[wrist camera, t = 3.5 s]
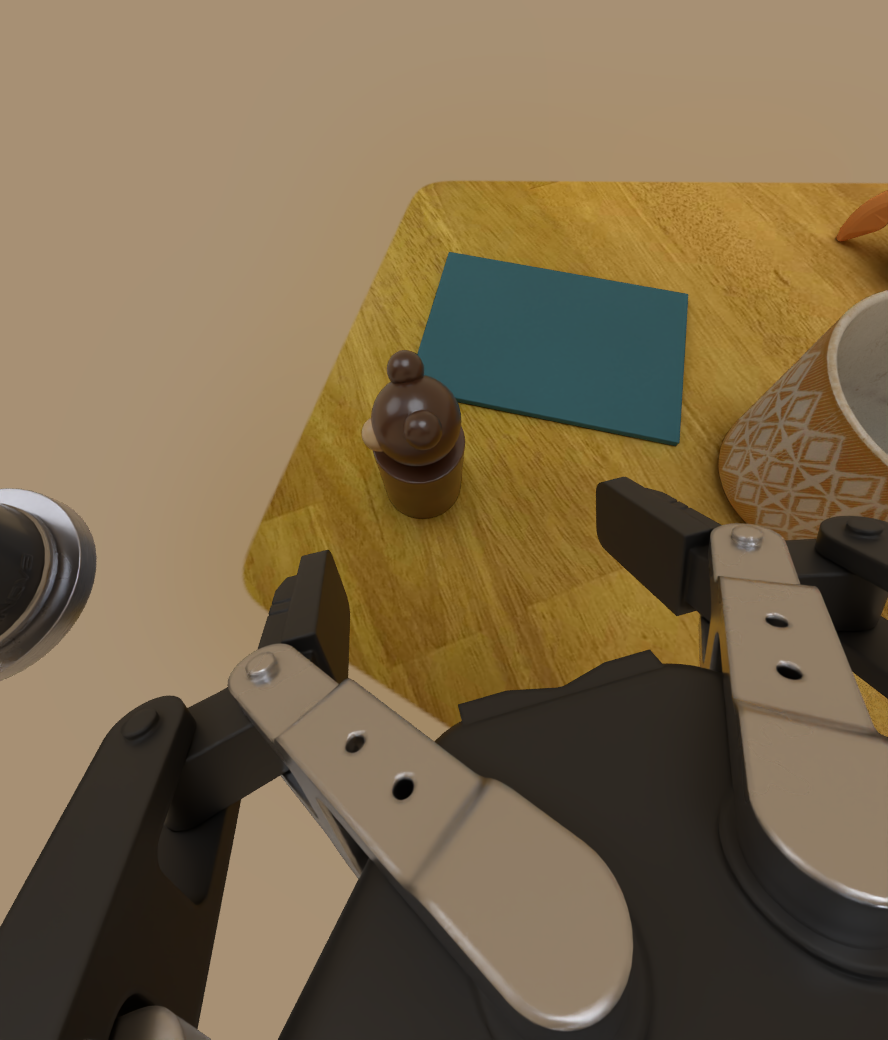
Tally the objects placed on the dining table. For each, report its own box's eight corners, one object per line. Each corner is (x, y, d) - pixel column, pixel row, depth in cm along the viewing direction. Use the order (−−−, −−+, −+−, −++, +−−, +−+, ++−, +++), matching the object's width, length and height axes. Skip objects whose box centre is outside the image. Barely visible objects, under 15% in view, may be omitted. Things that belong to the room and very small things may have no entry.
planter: (692, 396, 31) (808, 274, 21) (864, 413, 31) (1065, 296, 21) (707, 560, 27) (860, 503, 17) (906, 581, 27) (1178, 536, 17)
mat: (407, 391, 31) (406, 387, 31) (448, 256, 36) (448, 251, 35) (675, 446, 30) (679, 442, 29) (685, 298, 34) (688, 293, 34)
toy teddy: (390, 528, 28) (360, 452, 18) (374, 460, 29) (338, 355, 19) (469, 508, 28) (484, 423, 18) (449, 443, 30) (453, 330, 20)
